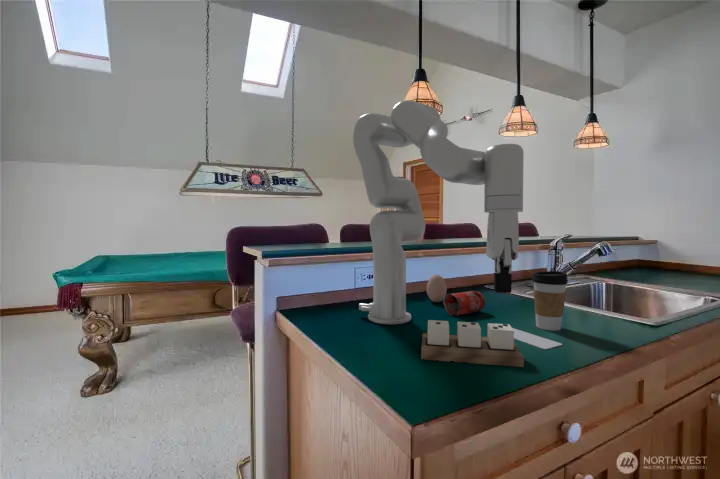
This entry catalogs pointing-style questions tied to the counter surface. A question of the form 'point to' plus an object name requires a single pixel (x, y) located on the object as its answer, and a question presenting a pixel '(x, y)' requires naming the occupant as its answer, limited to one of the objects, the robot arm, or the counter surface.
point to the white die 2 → (468, 334)
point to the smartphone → (535, 340)
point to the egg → (436, 288)
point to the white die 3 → (500, 336)
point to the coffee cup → (549, 298)
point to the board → (471, 353)
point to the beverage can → (464, 303)
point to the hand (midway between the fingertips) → (502, 291)
